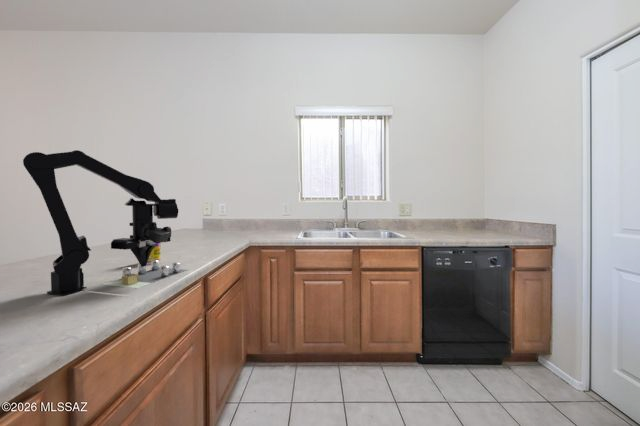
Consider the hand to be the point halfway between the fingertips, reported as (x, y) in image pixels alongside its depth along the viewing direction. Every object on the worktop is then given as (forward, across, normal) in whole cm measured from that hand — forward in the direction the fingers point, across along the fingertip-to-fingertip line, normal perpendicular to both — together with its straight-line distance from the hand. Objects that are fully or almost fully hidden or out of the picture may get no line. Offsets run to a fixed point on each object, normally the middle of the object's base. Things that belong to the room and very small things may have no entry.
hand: (143, 266), depth 98 cm
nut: (+4, -5, 0) cm, 7 cm away
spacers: (+4, +4, 0) cm, 6 cm away
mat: (+4, +2, 0) cm, 5 cm away
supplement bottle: (+5, +20, +16) cm, 26 cm away
